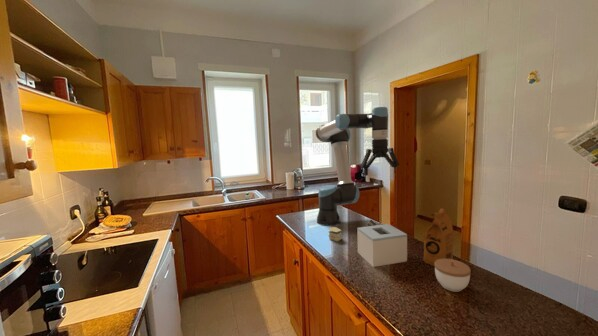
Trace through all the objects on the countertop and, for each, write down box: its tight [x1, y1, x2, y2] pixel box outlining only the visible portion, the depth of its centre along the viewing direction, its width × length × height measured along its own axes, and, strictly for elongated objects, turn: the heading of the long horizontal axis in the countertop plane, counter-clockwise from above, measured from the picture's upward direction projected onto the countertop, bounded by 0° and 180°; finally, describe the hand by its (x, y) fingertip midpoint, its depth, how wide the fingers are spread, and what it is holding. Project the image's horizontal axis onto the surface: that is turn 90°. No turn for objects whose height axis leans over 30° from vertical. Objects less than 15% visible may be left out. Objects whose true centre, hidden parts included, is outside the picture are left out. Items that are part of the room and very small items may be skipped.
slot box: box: [356, 223, 408, 268], centre depth 109 cm, size 14×16×12 cm
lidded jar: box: [434, 258, 472, 293], centre depth 85 cm, size 11×11×9 cm
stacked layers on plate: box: [327, 226, 343, 242], centre depth 132 cm, size 10×9×6 cm
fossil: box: [364, 219, 377, 227], centre depth 134 cm, size 11×9×10 cm
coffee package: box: [423, 208, 454, 267], centre depth 102 cm, size 10×12×22 cm
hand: (379, 180), depth 125 cm, fingers open, 13 cm apart
